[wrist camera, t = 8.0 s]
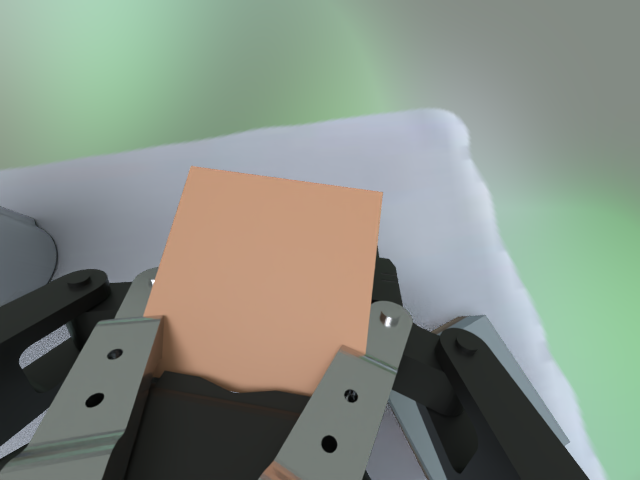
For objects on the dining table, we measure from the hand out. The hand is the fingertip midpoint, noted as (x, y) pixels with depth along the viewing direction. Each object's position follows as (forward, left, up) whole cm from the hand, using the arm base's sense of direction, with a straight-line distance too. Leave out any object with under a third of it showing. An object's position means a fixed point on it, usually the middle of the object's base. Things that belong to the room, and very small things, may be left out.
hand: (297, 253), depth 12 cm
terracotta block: (+2, -1, -5) cm, 5 cm away
